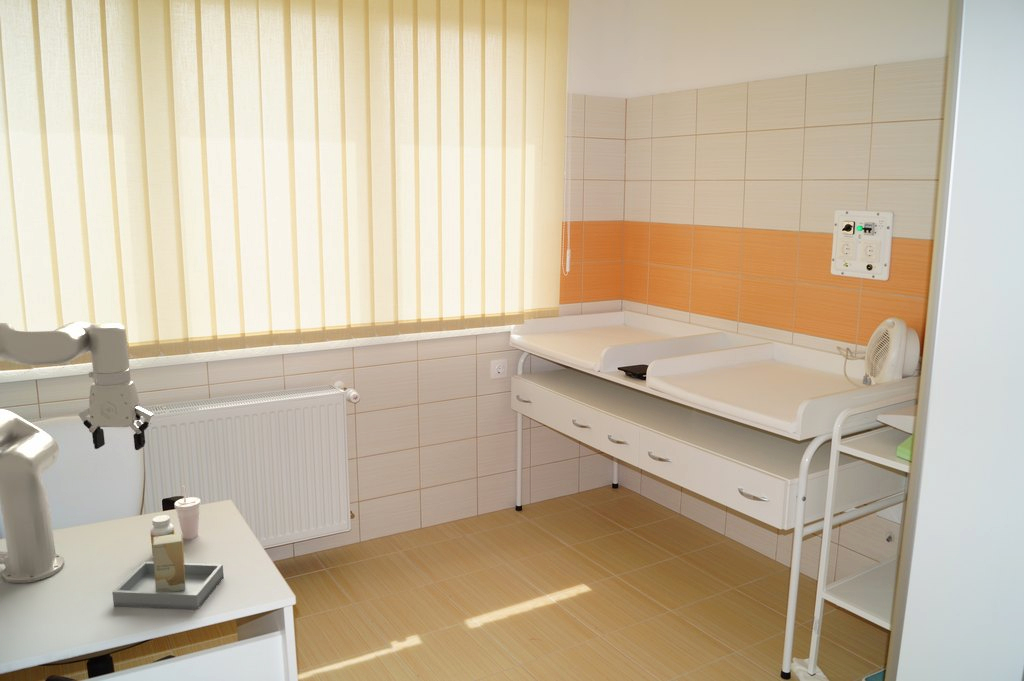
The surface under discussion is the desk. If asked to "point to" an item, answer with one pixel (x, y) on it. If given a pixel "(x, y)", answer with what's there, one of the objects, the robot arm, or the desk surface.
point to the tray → (143, 592)
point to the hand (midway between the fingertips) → (119, 447)
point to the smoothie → (188, 515)
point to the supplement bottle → (161, 527)
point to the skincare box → (169, 563)
